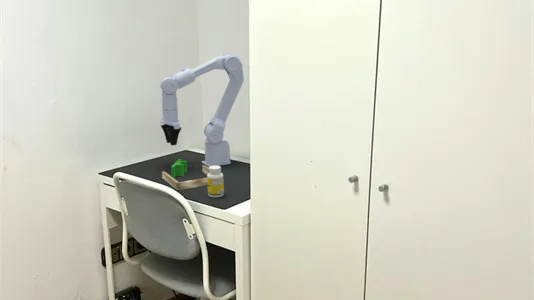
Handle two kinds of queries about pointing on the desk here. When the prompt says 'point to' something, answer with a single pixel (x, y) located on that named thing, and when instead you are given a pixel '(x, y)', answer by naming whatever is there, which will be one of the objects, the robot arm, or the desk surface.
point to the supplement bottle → (215, 182)
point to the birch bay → (186, 184)
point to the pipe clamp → (179, 168)
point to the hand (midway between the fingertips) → (171, 143)
